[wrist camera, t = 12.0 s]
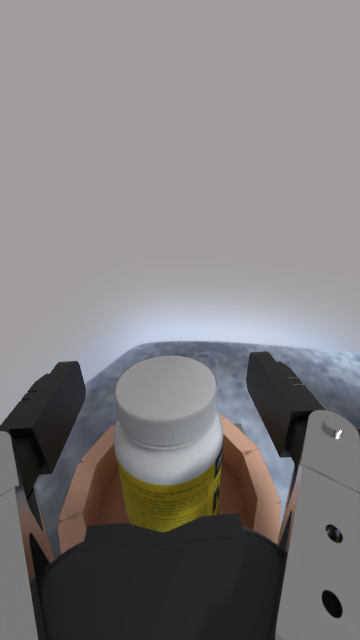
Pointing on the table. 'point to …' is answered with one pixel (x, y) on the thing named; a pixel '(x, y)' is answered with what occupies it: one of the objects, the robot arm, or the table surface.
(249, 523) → the bowl
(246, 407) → the table surface
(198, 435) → the supplement bottle
